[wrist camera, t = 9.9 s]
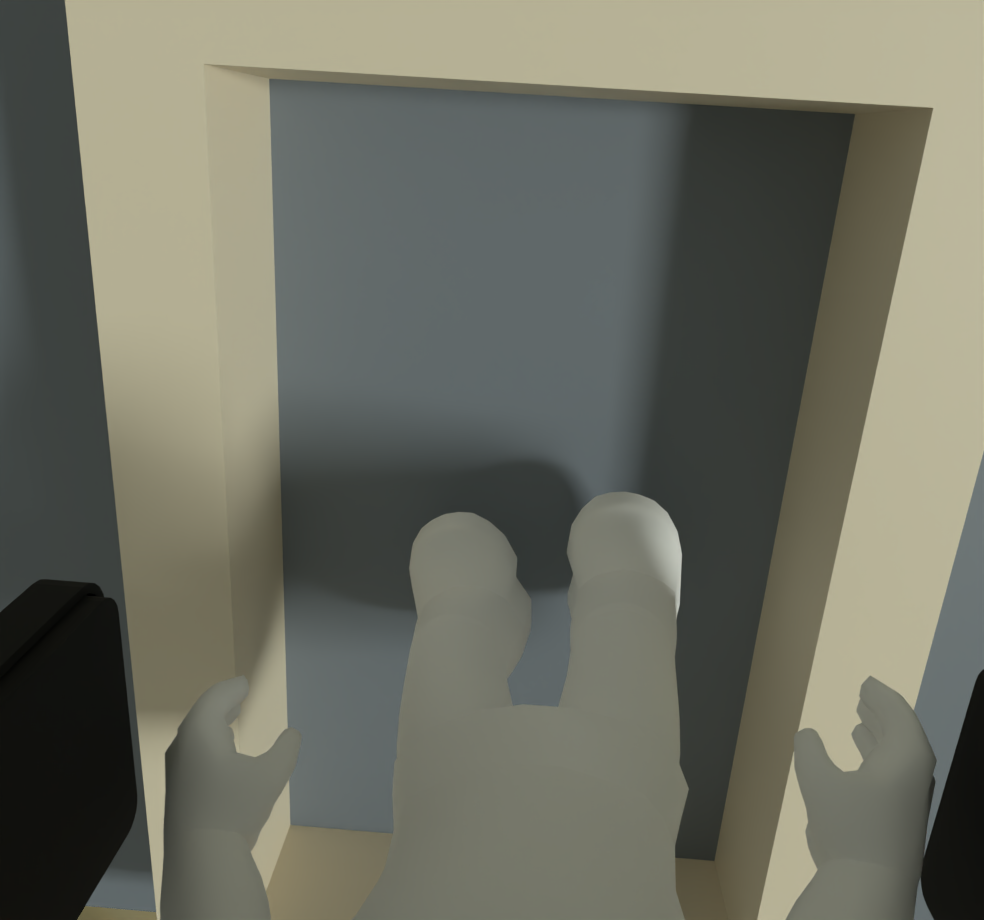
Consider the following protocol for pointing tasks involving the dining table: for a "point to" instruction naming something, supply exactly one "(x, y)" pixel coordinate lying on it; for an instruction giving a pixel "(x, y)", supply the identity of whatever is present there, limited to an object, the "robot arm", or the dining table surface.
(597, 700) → the white toy figurine
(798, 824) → the cradle jig
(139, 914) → the dining table surface
